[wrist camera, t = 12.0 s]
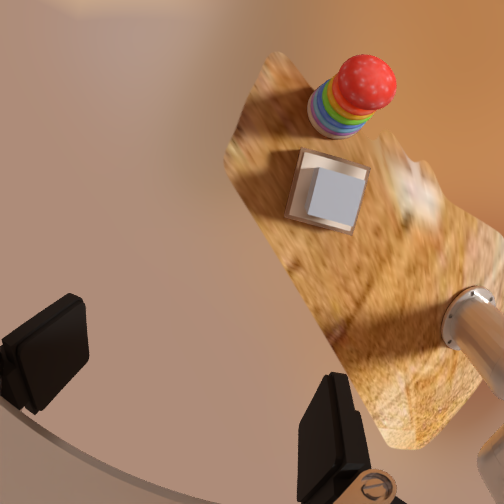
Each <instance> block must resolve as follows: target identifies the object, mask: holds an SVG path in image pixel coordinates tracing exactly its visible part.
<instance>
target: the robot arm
mask: <svg viewBox="0 0 504 504" xmlns="http://www.w3.org/2000/svg"><path fill="white" fill-rule="evenodd" d="M441 334H442V338H443V340H444V342H445V344H446V345H447V346H448V347H449V348H451V349H453V350H462V351H463V353H464V354H465V355H466V357H467V358H468V359H469V360H470V362H471V363H472V364H473V366H474V367H475V368H476V370H477V371H478V373H479V374H480V375H481V377H482V378H483V379H484V381H485V382H486V384H487V385H488V386H489V388H490V389H491V390H492V392H493V393H494V394H495V396H497V397H498V398H500V399H502V400H504V313H502V312H501V311H500V310H499V309H498V308H496V305H495V299H494V296H493V294H492V293H491V292H490V291H489V290H488V289H486V288H485V287H482V286H474V287H471V288H468V289H466V290H465V291H463V292H462V293H460V294H459V295H458V296H457V297H456V298H455V299H454V301H453V302H452V303H451V304H450V306H449V307H448V309H447V311H446V313H445V315H444V318H443V321H442V326H441ZM2 343H3V345H1V346H0V504H219V503H214V502H210V501H206V500H203V499H199V498H195V497H192V496H188V495H185V494H182V493H179V492H175V491H172V490H169V489H166V488H163V487H161V486H158V485H155V484H153V483H150V482H147V481H145V480H142V479H140V478H137V477H135V476H132V475H130V474H128V473H125V472H123V471H121V470H119V469H117V468H114V467H112V466H110V465H108V464H106V463H104V462H102V461H100V460H98V459H96V458H94V457H92V456H90V455H88V454H86V453H85V452H83V451H81V450H79V449H77V448H76V447H74V446H72V445H71V444H69V443H67V442H65V441H64V440H62V439H60V438H59V437H57V436H56V435H54V434H52V433H51V432H49V431H48V430H46V429H45V428H43V427H42V426H40V425H39V424H37V423H36V422H35V421H33V420H32V419H30V418H29V417H28V416H26V415H25V414H24V413H22V408H23V407H24V406H25V408H26V409H27V410H29V411H30V412H31V413H33V414H34V415H36V414H37V413H38V411H39V410H40V411H42V410H43V409H45V407H46V406H47V405H48V404H49V403H50V402H51V401H52V400H53V399H54V397H55V396H56V395H57V394H58V393H59V392H60V391H61V390H62V389H63V388H64V386H66V384H67V383H68V382H69V381H70V380H71V379H72V378H73V377H74V376H75V375H76V374H77V372H79V370H80V369H81V368H82V367H83V366H84V365H85V364H86V363H87V362H88V359H89V346H88V337H87V323H86V307H85V303H83V300H82V298H80V297H78V296H76V295H74V294H71V293H68V294H66V295H65V296H63V297H62V298H60V299H59V300H57V301H56V302H54V303H53V304H51V305H50V306H48V307H47V308H45V309H44V310H43V311H41V312H39V313H38V314H37V315H35V316H34V317H32V318H31V319H29V320H28V321H26V322H25V323H24V324H22V325H21V326H19V327H18V328H17V329H15V330H14V331H12V332H11V333H10V334H8V335H7V336H5V337H4V338H3V339H2ZM298 432H299V434H298V436H299V437H298V480H297V501H298V502H301V504H407V503H405V502H404V501H402V500H400V499H399V498H398V497H396V496H395V495H396V493H397V485H396V482H395V480H394V479H393V478H392V476H390V474H388V473H387V472H385V471H383V470H379V469H371V464H370V458H369V453H368V447H367V442H366V437H365V433H364V428H363V423H362V419H361V415H360V412H359V411H356V410H355V408H354V404H353V399H352V394H351V390H350V386H349V381H348V377H347V375H346V374H342V373H336V372H331V373H330V374H329V375H325V376H324V377H323V379H322V381H321V383H320V385H319V387H318V389H317V391H316V393H315V395H314V397H313V399H312V401H311V403H310V404H309V406H308V408H307V410H306V412H305V414H304V416H303V418H302V419H301V421H300V424H299V430H298ZM477 467H478V470H479V473H480V475H481V477H482V479H483V481H484V483H485V484H486V486H487V488H488V490H489V492H490V493H491V495H492V497H493V499H494V500H495V502H496V504H504V424H503V425H502V426H501V427H500V428H499V429H498V430H497V431H496V432H495V433H494V434H493V435H492V436H491V437H490V439H489V440H488V441H487V442H486V443H485V444H484V445H483V447H482V448H481V449H480V451H479V453H478V457H477Z"/></svg>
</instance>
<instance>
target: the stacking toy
mask: <svg viewBox="0 0 504 504" xmlns="http://www.w3.org/2000/svg"><path fill="white" fill-rule="evenodd" d="M395 93H396V78H395V76H394V73H393V71H392V70H391V68H390V67H389V66H388V65H387V64H386V63H385V62H384V61H383V60H381V59H379V58H377V57H375V56H371V55H364V54H362V55H356V56H353V57H351V58H349V59H348V60H347V61H346V62H344V64H343V65H342V66H341V68H340V70H339V72H338V73H337V74H336V75H335V76H333V78H331V79H329V80H327V81H326V82H325V83H324V84H322V85H321V86H319V87H318V88H317V89H316V90H315V91H314V92H313V93H312V94H311V96H310V98H309V100H308V104H307V113H308V118H309V120H310V122H311V124H312V126H313V127H314V128H315V129H316V130H317V131H318V132H319V133H320V134H322V135H324V136H326V137H328V138H331V139H346V138H349V137H351V136H353V135H355V134H356V133H357V132H358V131H359V130H360V129H361V128H362V126H363V125H364V124H365V123H366V121H367V120H369V119H370V118H371V117H372V115H373V114H374V113H375V111H376V110H377V109H381V108H383V107H385V106H386V105H388V104H389V103H390V102H391V101H392V99H393V98H394V95H395Z"/></svg>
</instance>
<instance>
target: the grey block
mask: <svg viewBox="0 0 504 504" xmlns="http://www.w3.org/2000/svg"><path fill="white" fill-rule="evenodd" d="M364 185H365V181H364V180H361V179H358V178H355V177H352V176H348V175H345V174H342V173H338V172H335V171H331V170H328V169H324V168H321V167H316V168H314V171H313V175H312V179H311V183H310V187H309V191H308V195H307V199H306V203H305V209H306V212H307V214H309V215H312V216H316V217H320V218H323V219H327V220H331V221H334V222H338V223H341V224H345V225H349V226H352V227H353V225H354V222H355V218H356V215H357V211H358V208H359V204H360V200H361V197H362V193H363V189H364Z"/></svg>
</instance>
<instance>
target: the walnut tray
mask: <svg viewBox="0 0 504 504" xmlns="http://www.w3.org/2000/svg"><path fill="white" fill-rule="evenodd" d="M316 167H321V168H324V169H328V170H331V171H335V172H338V173H342V174H345V175H348V176H352V177H355V178H358V179H361V180H364V181H365V185H364V189H363V193H362V197H361V200H360V204H359V208H358V211H357V215H356V218H355V222H354V225H353V227H352V226H349V225H345V224H341V223H338V222H334V221H331V220H327V219H323V218H320V217H316V216H312V215H309V214H307V212H306V209H305V203H306V199H307V195H308V191H309V187H310V183H311V179H312V175H313V171H314V168H316ZM370 169H371V168H370V167H367V166H364V165H361V164H358V163H355V162H352V161H349V160H345V159H342V158H339V157H335V156H332V155H328V154H325V153H321V152H318V151H314V150H310V149H307V148H303V147H301V149H300V152H299V156H298V161H297V165H296V169H295V173H294V177H293V181H292V185H291V189H290V193H289V197H288V201H287V205H286V209H285V213H284V217H285V218H289V219H292V220H296V221H300V222H304V223H308V224H311V225H315V226H319V227H322V228H326V229H330V230H333V231H337V232H341V233H344V234H348V235H351V236H352V235H353V231H354V228H355V225H356V221H357V218H358V214H359V211H360V207H361V204H362V200H363V196H364V192H365V189H366V185H367V181H368V177H369V173H370Z"/></svg>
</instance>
